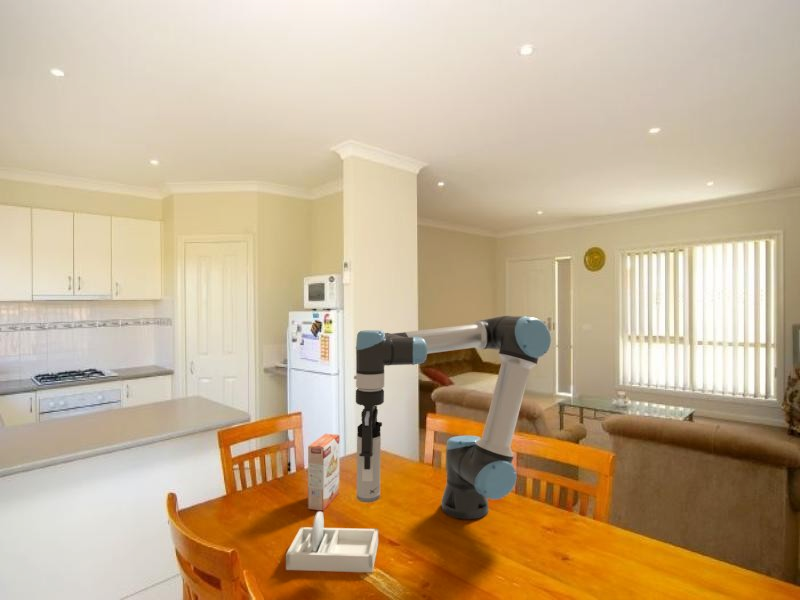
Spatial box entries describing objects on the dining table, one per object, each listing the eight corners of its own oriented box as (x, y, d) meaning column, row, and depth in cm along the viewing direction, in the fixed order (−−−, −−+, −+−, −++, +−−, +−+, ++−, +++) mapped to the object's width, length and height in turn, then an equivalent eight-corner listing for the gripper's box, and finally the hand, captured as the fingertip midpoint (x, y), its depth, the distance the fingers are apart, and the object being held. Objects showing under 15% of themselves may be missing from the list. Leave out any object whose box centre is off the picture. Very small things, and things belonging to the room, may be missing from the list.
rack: (378, 543, 122) (377, 503, 122) (372, 572, 109) (372, 527, 109) (301, 541, 123) (300, 501, 123) (286, 569, 110) (285, 525, 110)
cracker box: (324, 512, 140) (323, 447, 140) (307, 510, 141) (306, 445, 141) (340, 493, 154) (340, 433, 154) (324, 491, 155) (324, 432, 155)
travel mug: (378, 504, 112) (378, 426, 112) (353, 501, 113) (354, 424, 113) (383, 493, 118) (384, 420, 118) (360, 491, 119) (360, 418, 120)
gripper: (361, 381, 126) (360, 461, 126) (350, 396, 106) (349, 490, 106) (386, 382, 125) (386, 462, 125) (380, 396, 106) (379, 491, 106)
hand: (369, 475), depth 116 cm, fingers closed on travel mug, 6 cm apart
